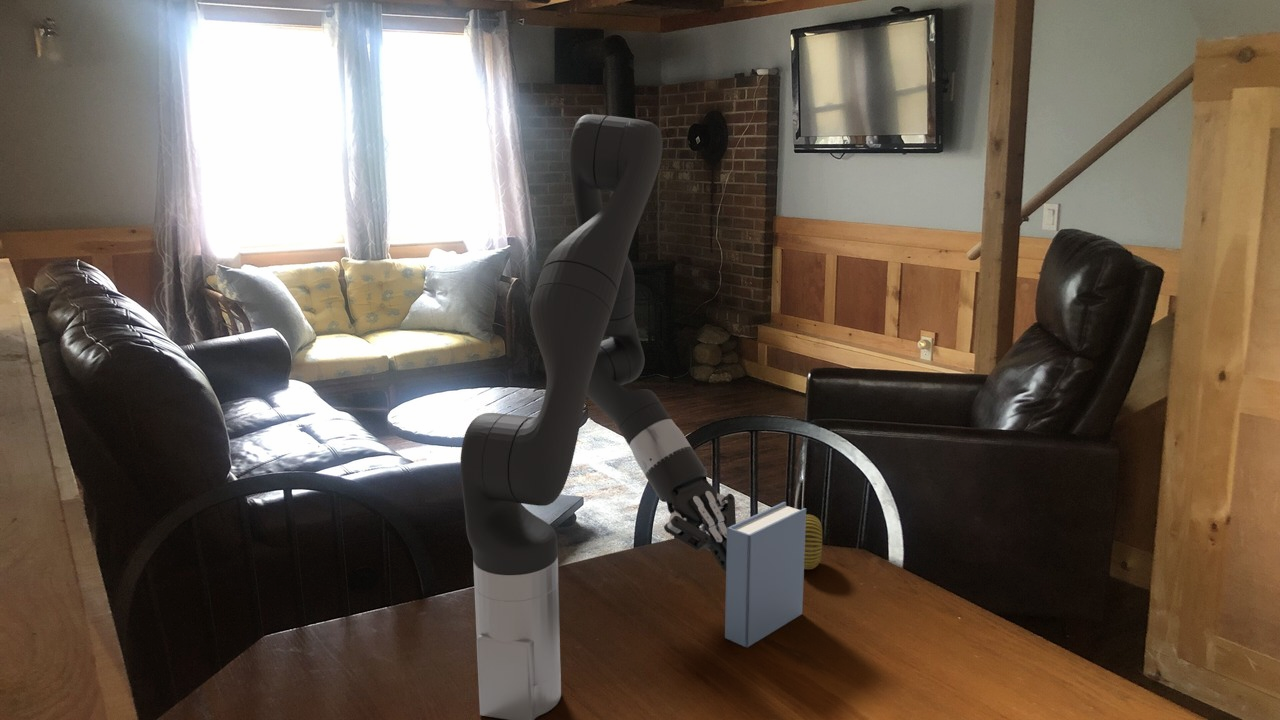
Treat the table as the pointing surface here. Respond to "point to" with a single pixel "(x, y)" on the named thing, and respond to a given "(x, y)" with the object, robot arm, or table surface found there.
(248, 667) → the table surface
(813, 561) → the sculpture
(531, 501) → the robot arm
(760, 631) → the book
